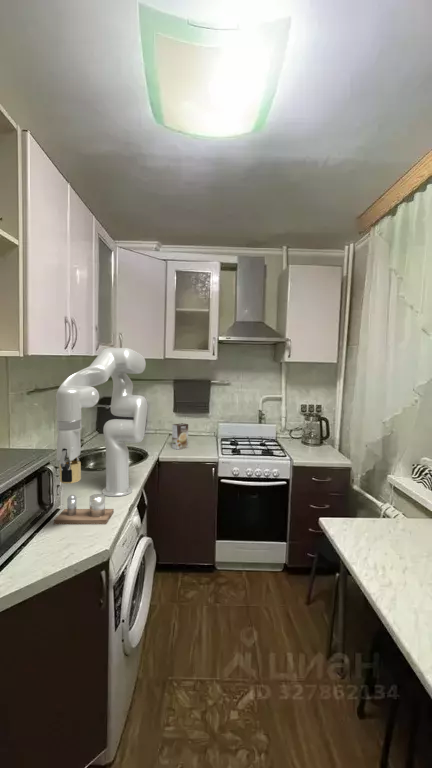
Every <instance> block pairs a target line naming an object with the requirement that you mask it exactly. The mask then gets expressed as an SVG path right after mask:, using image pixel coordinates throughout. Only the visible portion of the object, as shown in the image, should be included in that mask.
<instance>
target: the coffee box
mask: <svg viewBox="0 0 432 768" xmlns="http://www.w3.org/2000/svg"><path fill="white" fill-rule="evenodd" d="M171 425H172V428H171V429H172V431H171V449H175V450H182V449H188V447H189V424H188V423H174V424H171Z"/></svg>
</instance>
